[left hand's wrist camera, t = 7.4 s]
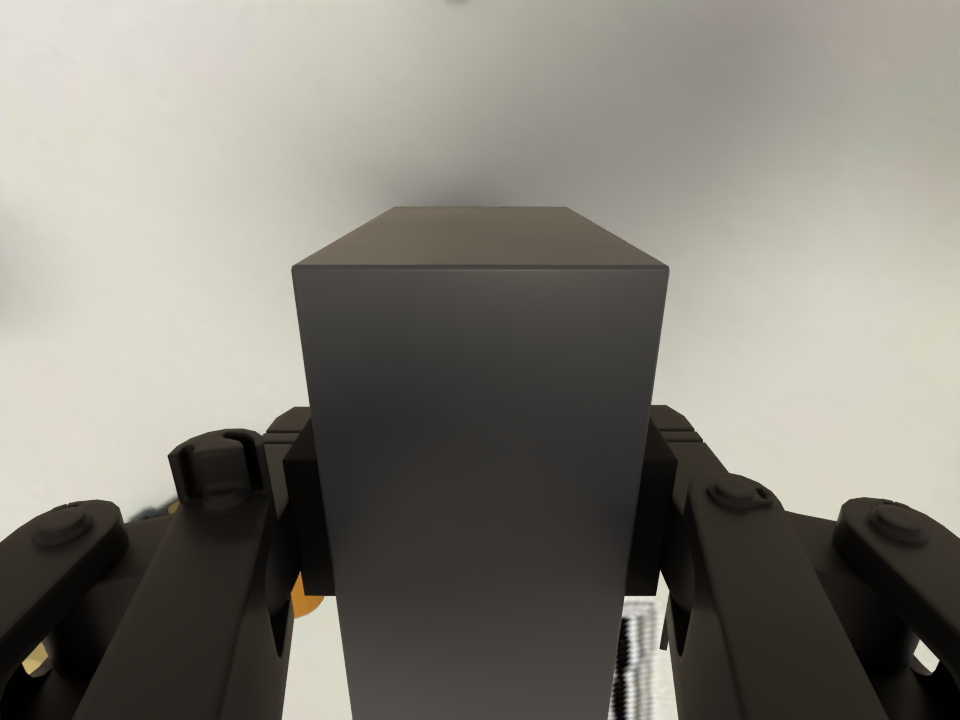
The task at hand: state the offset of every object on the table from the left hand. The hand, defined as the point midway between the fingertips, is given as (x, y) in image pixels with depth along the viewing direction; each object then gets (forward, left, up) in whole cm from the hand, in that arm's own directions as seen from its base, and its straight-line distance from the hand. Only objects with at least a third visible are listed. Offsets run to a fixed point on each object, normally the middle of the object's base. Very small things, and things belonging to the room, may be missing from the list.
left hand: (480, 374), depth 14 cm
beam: (+3, +28, -1) cm, 28 cm away
